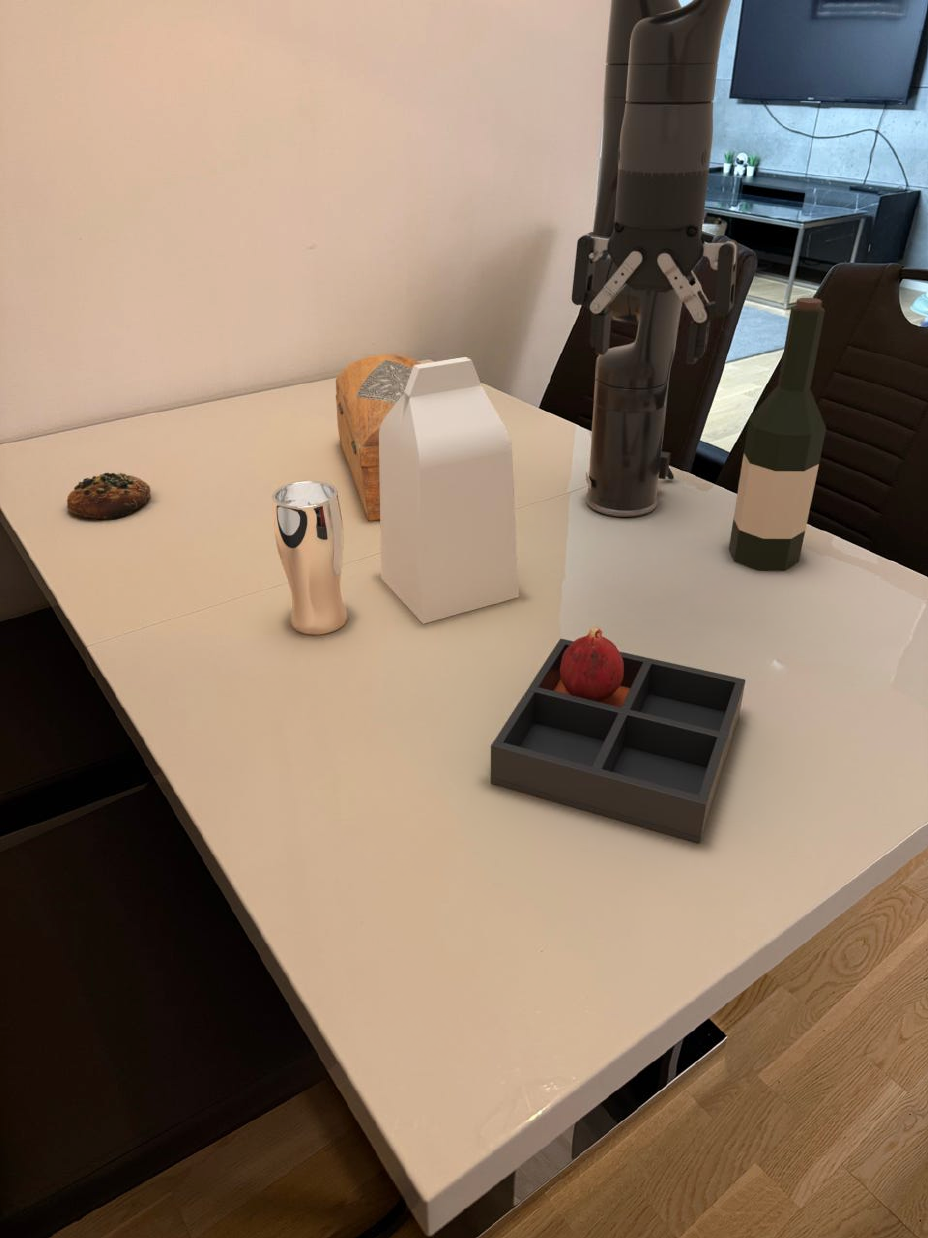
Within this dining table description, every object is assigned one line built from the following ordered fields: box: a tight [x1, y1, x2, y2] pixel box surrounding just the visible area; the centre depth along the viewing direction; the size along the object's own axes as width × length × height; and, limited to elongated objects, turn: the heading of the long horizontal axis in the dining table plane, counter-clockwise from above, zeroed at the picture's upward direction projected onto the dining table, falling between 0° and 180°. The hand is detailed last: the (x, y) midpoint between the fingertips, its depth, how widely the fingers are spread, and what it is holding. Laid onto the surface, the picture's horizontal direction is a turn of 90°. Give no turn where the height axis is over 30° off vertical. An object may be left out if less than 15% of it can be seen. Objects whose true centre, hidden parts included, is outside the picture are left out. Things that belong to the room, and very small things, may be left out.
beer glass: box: [271, 480, 348, 636], centre depth 96 cm, size 7×7×15 cm
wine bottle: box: [728, 297, 827, 572], centre depth 103 cm, size 8×8×30 cm
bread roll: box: [66, 472, 151, 521], centre depth 126 cm, size 11×11×5 cm
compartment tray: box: [490, 638, 746, 844], centre depth 80 cm, size 18×18×4 cm
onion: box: [560, 626, 624, 702], centre depth 83 cm, size 6×6×8 cm
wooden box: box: [335, 354, 422, 521], centre depth 131 cm, size 30×16×14 cm, turn 12°
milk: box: [379, 356, 520, 625], centre depth 99 cm, size 12×12×26 cm
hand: (645, 357), depth 85 cm, fingers open, 8 cm apart
